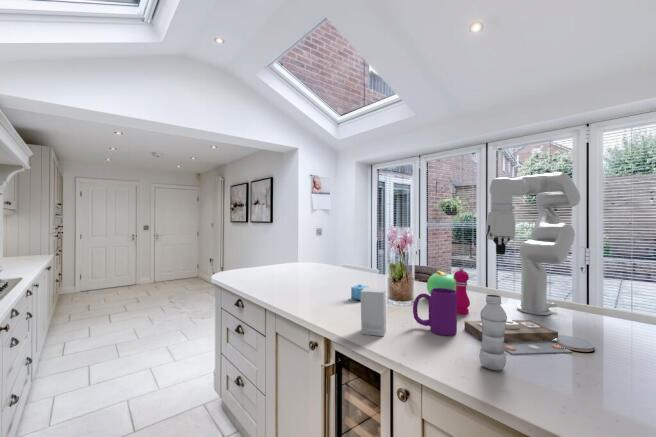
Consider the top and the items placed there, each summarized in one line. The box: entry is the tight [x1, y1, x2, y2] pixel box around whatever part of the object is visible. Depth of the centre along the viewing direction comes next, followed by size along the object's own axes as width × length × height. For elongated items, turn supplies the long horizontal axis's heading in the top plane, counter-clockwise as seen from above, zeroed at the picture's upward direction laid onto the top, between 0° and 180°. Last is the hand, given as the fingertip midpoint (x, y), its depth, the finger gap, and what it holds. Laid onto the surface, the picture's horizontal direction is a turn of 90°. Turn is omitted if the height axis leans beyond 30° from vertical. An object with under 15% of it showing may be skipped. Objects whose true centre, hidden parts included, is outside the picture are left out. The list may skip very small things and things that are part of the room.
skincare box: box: [360, 287, 387, 337], centre depth 112 cm, size 8×7×16 cm
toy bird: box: [426, 270, 456, 296], centre depth 157 cm, size 18×17×15 cm
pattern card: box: [504, 342, 574, 356], centre depth 99 cm, size 20×7×1 cm, turn 95°
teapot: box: [350, 284, 370, 302], centre depth 156 cm, size 12×6×8 cm, turn 147°
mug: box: [412, 288, 458, 337], centre depth 115 cm, size 9×16×15 cm, turn 63°
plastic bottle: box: [479, 294, 508, 371], centre depth 86 cm, size 6×7×20 cm
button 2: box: [520, 322, 540, 329], centre depth 112 cm, size 4×4×3 cm
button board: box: [464, 319, 559, 344], centre depth 111 cm, size 26×13×3 cm, turn 95°
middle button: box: [505, 319, 519, 329], centre depth 111 cm, size 4×4×3 cm
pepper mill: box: [453, 266, 471, 316], centre depth 136 cm, size 7×7×20 cm
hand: (500, 254), depth 125 cm, fingers closed
